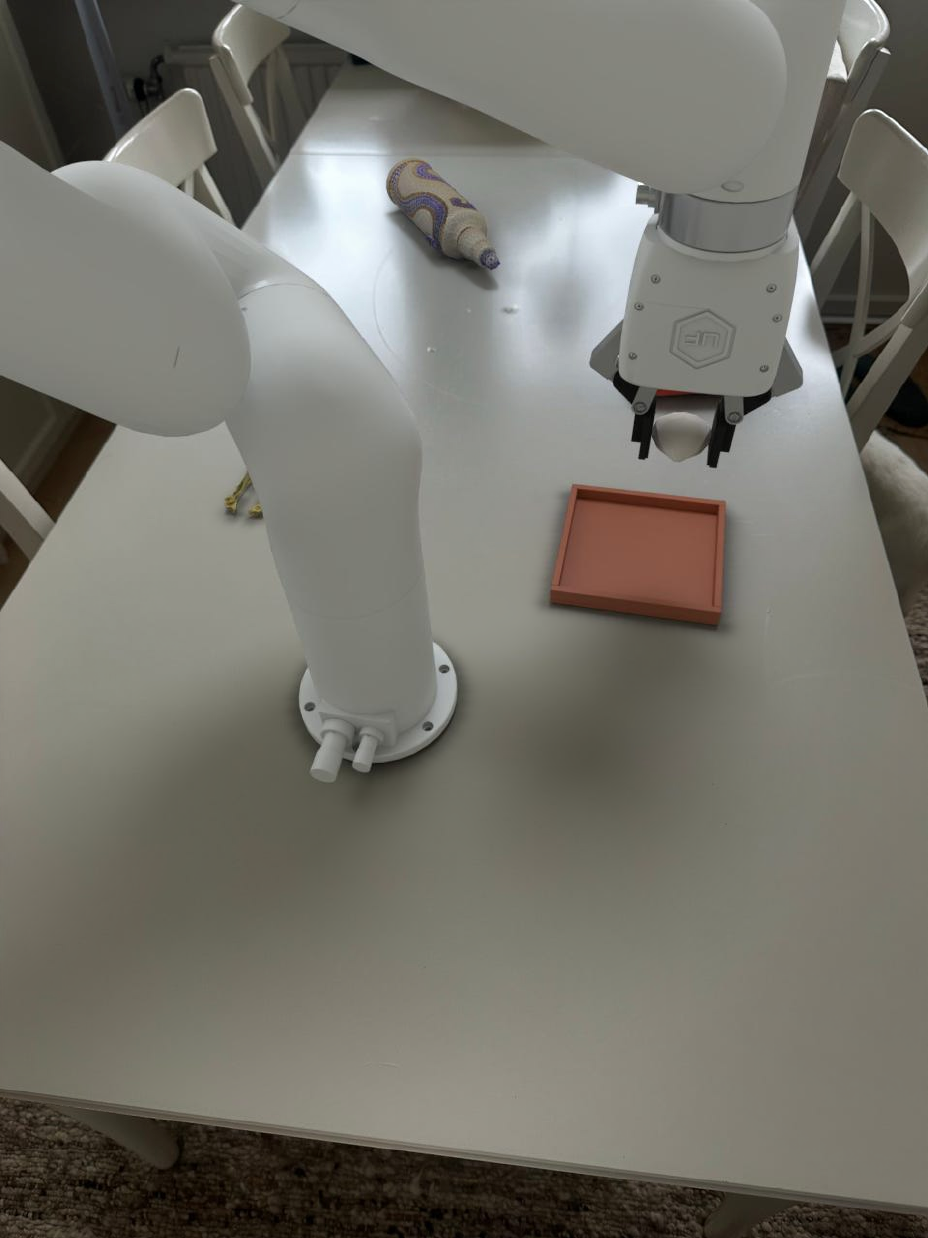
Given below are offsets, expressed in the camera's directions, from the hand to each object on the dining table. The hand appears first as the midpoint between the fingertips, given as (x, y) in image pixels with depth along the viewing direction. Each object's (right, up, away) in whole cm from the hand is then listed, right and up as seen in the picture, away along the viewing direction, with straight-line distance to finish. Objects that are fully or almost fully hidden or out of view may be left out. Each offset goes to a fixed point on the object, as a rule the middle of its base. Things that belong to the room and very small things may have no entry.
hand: (678, 449), depth 64 cm
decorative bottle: (-19, +38, +51) cm, 66 cm away
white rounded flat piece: (0, 0, 0) cm, 1 cm away
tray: (0, -7, +14) cm, 15 cm away
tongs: (-36, +2, +23) cm, 43 cm away
